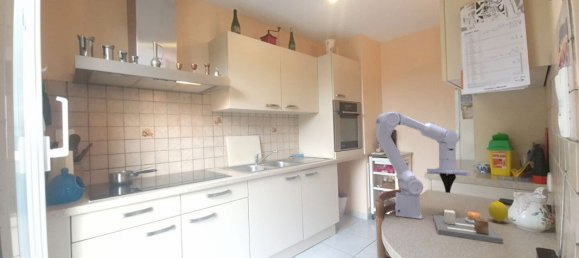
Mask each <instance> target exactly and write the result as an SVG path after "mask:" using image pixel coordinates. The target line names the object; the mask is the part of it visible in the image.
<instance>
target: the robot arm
mask: <svg viewBox="0 0 579 258" xmlns="http://www.w3.org/2000/svg"><path fill="white" fill-rule="evenodd" d="M400 125H401V126H406V127H407V128H410V129H413V130H416V131H418V132H420V134H421V135H422V136H423V137H426V138H428V139H431V140H434V141H436V142H437V143H438V165H439V167H438V168H426V173H427V175H430V174H431V175H439V177H440V179H441V181H442V184H443V186H444V192H445V193H446V194H447V193H449V194H451V190H452V186H453V184H454V182H455V180H456V178H457V176H463V177H464V176H465V177H470V171H469V170H461V169H456V167H457V166H456V163H457V162H456V160H457V159H456V147H457V144H458V142H459V140H460V137H459V136H458V134H457V132H456V131H454V130H449V129H446V127H443V126H442V127H441V126H438V125H436V123H435V122H426V123H422V122H421V121H418V120H417V119H415V118H411V117H409V116H407V115H405V114H402V113H399V112H396V111H388V112H382V113H380V114H379V115H378V116H377V117H376V120H375V126H376V127H375V131H376V132H375V137H376V140H377V141H378V142H377V143H379V145H380V147H381V149H382V150H383V152H384V154H385V155H386V157H387V160H388V161H389V162H390V164H391V166H392V168H393V170H394V171H395V173H396V175H395V176H396V179H397V183H398V187H399V188H400V192H398V191H396V192H395V206H394V210H395V216H397V217H404V218H410V219H412V218H413V219H419V220H422V219H423V215H422V211H421V193H422V192H423V191H424V190H423V189H424V184H423V182H422V181H421V180H420V179H418V178H417V177H416V175H415V174H414V173H413V172H412V171H411V170H410V169H409V166H408V165H407V163H406V161H405V160H404V158H403V156H402V154H401V153H400V151H399V149H398V147H397V146H396V144H395V142H394V140H393V138H392V133H393V131H394V130H395V129H396V128H397V126H400Z"/></svg>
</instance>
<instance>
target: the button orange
mask: <svg viewBox="0 0 579 258" xmlns="http://www.w3.org/2000/svg"><path fill="white" fill-rule="evenodd" d="M466 217H468V219H471V220H474V218H481V213H479V212H476V211H470V210H469V211H467V216H466Z"/></svg>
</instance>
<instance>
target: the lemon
mask: <svg viewBox="0 0 579 258" xmlns="http://www.w3.org/2000/svg"><path fill="white" fill-rule="evenodd" d="M488 213H489V216H490V217H491V218H492V219H493V220H495V221H496V222H497V223H499V222H501V221H504V220H506V219H507V218H508V214H509V213H508V208H507V206H506V205H505V203H503V202H501V201H499V200H495V201H493V202H491V203H490V204H489V206H488Z"/></svg>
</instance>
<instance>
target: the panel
mask: <svg viewBox="0 0 579 258" xmlns="http://www.w3.org/2000/svg"><path fill="white" fill-rule="evenodd" d="M432 220H433V221H434V225H435V228H436V231H437V234H438V235H442V236H449V237H454V238H462V239H467V240H476V241H483V242H489V243H496V244H504V239H503V237H502V236H501V235H500V234H499V233H498V232H497V231H496V230H495V229H494V227H493V226H492V225H491V224H490V223H489V222H488V230H489V235H488V234H481V233H477V232H476V231H475V230H474V220H471V219H468V217H467V216H465V217H456V216H455V223H456V225H455V224H447V223H445V221H444V215H440V214H439V215H438V214H432Z"/></svg>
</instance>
